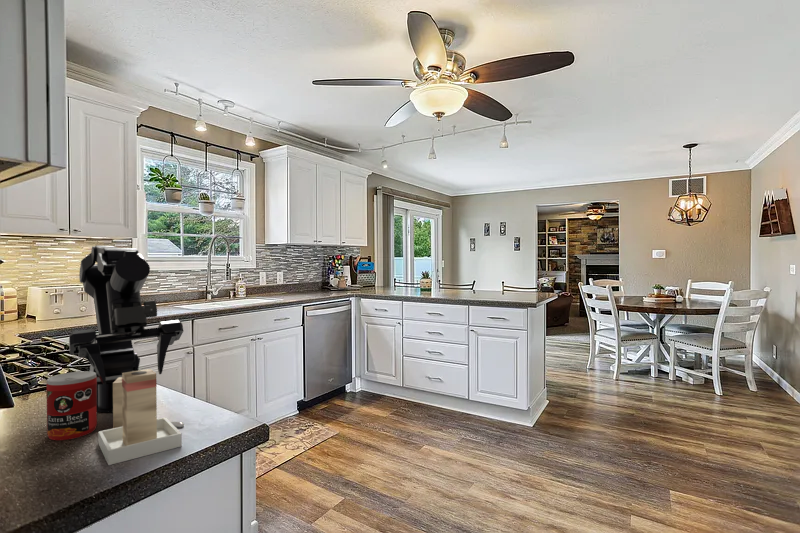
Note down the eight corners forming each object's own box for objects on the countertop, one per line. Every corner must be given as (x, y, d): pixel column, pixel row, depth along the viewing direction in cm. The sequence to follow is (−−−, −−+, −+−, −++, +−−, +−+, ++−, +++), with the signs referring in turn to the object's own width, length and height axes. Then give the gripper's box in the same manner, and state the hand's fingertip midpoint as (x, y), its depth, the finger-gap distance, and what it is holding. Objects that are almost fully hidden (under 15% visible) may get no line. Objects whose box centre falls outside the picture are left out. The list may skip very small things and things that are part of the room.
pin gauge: (141, 427, 88) (141, 421, 88) (145, 425, 89) (145, 419, 89) (181, 429, 87) (181, 423, 87) (185, 427, 88) (185, 421, 88)
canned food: (38, 443, 80) (37, 383, 80) (59, 427, 87) (59, 372, 87) (86, 438, 82) (86, 380, 82) (103, 423, 89) (103, 369, 89)
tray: (98, 444, 79) (98, 431, 79) (165, 428, 86) (165, 417, 86) (108, 465, 71) (108, 451, 71) (181, 446, 78) (181, 433, 78)
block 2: (122, 442, 79) (122, 372, 79) (150, 435, 82) (150, 368, 82) (127, 450, 75) (127, 377, 75) (157, 442, 78) (156, 373, 78)
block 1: (118, 420, 91) (118, 377, 91) (143, 417, 93) (143, 375, 93) (113, 428, 87) (112, 382, 87) (139, 425, 88) (138, 380, 88)
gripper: (67, 290, 77) (72, 376, 72) (182, 283, 89) (194, 356, 84) (67, 314, 85) (72, 393, 80) (173, 305, 97) (183, 373, 91)
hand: (133, 378), depth 83 cm, fingers open, 9 cm apart
